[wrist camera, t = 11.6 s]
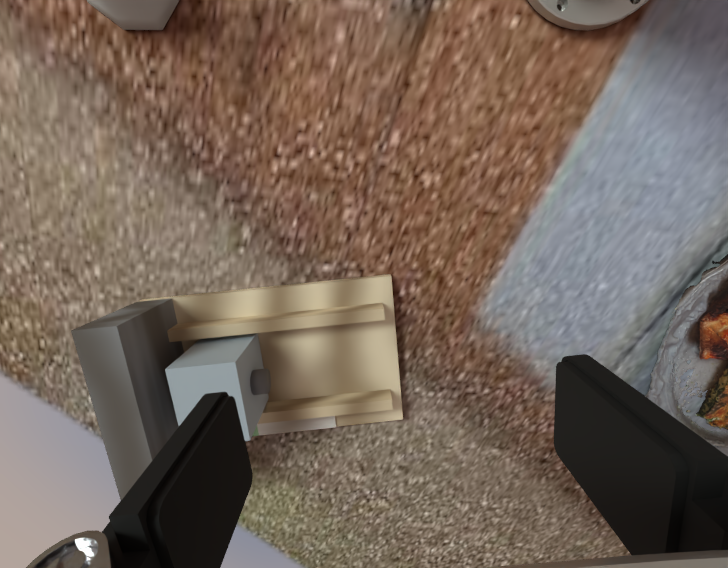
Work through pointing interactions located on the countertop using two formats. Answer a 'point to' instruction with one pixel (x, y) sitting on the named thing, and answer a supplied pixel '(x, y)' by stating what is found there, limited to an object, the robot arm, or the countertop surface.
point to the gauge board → (279, 354)
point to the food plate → (697, 355)
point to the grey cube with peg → (222, 377)
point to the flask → (137, 12)
